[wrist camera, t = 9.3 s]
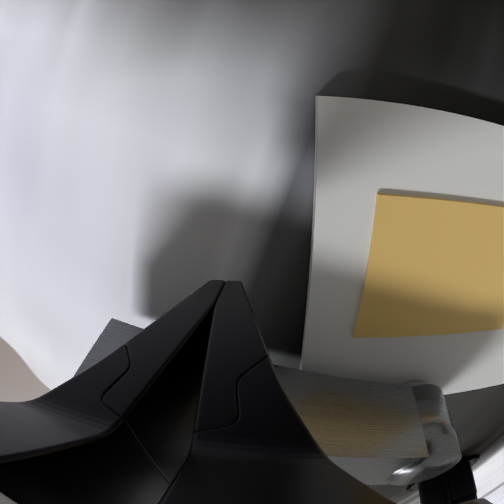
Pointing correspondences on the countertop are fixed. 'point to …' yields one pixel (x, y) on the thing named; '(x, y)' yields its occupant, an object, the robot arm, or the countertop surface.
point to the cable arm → (354, 419)
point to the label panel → (406, 246)
